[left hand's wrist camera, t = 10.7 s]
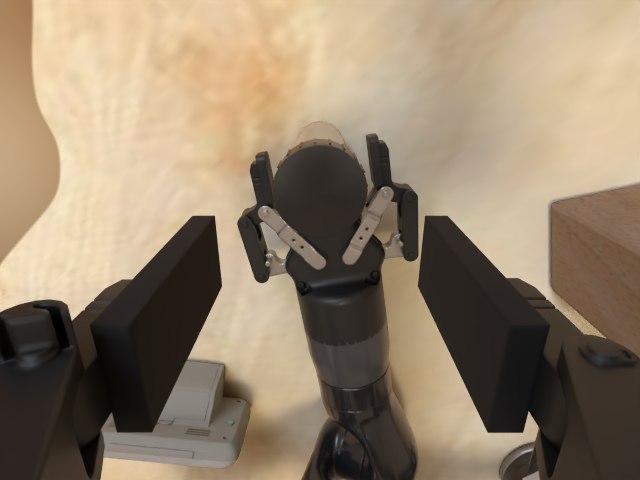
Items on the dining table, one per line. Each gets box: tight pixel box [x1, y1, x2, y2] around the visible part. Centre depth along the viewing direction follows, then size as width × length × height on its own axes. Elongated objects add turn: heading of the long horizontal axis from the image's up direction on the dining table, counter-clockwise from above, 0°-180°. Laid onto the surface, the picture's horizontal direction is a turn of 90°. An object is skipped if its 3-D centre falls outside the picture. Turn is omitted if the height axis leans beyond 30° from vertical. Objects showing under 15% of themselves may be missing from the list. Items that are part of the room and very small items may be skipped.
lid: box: [273, 138, 368, 237], centre depth 22 cm, size 5×5×2 cm
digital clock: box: [101, 361, 250, 468], centre depth 42 cm, size 16×9×11 cm, turn 71°
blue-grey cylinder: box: [294, 122, 346, 147], centre depth 29 cm, size 4×4×16 cm
